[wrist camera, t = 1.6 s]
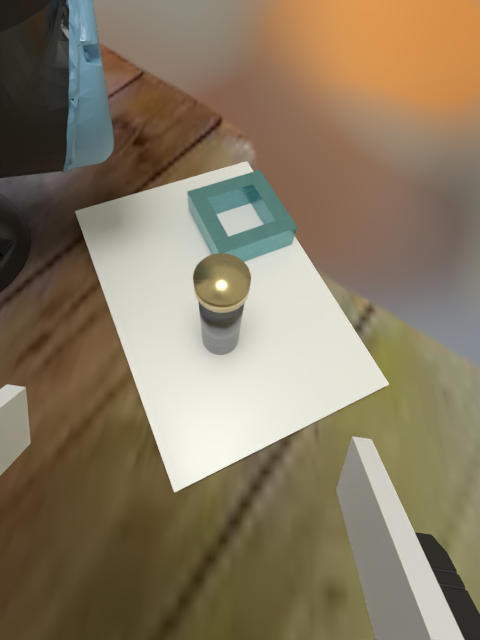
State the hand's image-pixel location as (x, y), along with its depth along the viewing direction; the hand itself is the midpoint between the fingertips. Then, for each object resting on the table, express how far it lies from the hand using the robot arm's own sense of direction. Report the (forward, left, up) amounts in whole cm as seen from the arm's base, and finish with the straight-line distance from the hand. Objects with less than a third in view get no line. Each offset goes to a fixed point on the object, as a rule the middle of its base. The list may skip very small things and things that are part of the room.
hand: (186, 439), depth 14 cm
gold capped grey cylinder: (-9, +6, -17) cm, 20 cm away
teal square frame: (-21, +14, -17) cm, 30 cm away
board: (-14, +8, -18) cm, 25 cm away
